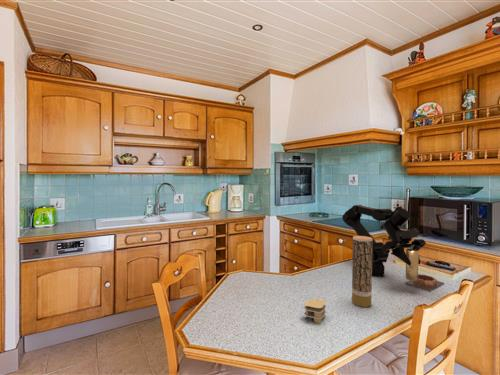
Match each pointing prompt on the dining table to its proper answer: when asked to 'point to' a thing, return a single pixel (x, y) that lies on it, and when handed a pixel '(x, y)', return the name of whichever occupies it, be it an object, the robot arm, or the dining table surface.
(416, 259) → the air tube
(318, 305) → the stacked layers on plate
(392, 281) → the dining table surface
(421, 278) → the brown base plate
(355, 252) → the bark covered log
